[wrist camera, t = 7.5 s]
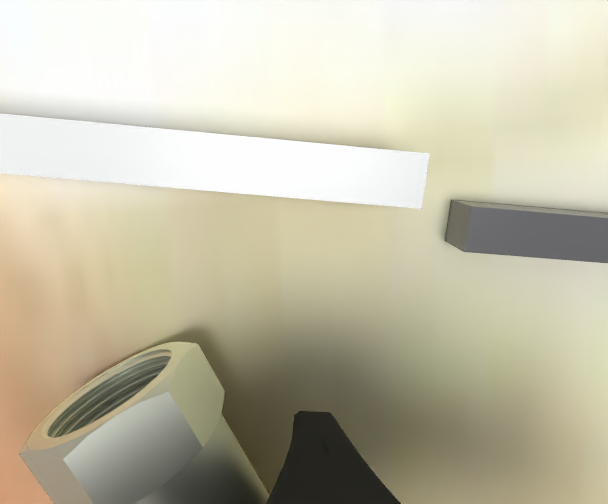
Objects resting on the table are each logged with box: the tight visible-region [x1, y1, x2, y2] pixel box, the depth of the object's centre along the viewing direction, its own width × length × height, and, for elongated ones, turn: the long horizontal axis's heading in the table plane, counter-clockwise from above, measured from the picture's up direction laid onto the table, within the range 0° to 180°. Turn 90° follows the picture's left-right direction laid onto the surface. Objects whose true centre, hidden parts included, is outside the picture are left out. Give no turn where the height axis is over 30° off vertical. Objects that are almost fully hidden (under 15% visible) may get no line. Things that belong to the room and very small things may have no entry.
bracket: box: [0, 113, 429, 209], centre depth 11 cm, size 15×13×2 cm
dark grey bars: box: [445, 200, 608, 263], centre depth 12 cm, size 13×8×1 cm, turn 175°
